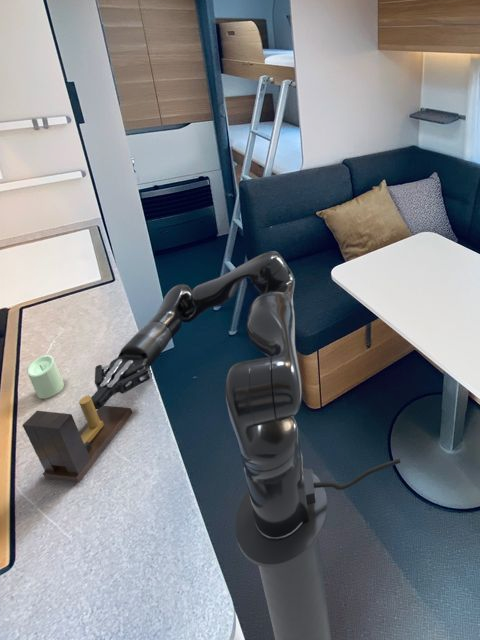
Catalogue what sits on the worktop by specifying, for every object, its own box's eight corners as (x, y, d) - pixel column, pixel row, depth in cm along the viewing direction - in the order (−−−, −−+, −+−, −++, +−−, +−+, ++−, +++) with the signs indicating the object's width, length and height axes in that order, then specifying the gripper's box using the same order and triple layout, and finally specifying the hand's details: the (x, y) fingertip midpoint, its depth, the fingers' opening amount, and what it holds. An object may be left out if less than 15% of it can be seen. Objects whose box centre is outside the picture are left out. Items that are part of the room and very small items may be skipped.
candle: (57, 396, 94) (46, 369, 91) (33, 401, 93) (20, 373, 90) (68, 380, 98) (57, 353, 95) (44, 383, 97) (33, 357, 94)
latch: (103, 410, 90) (85, 363, 85) (132, 412, 89) (116, 365, 84) (45, 478, 76) (19, 427, 71) (78, 482, 76) (55, 431, 70)
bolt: (95, 423, 85) (84, 395, 82) (104, 424, 85) (93, 395, 82) (72, 451, 79) (59, 421, 76) (81, 452, 79) (69, 422, 76)
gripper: (175, 359, 99) (127, 422, 83) (125, 355, 101) (69, 416, 85) (169, 334, 96) (118, 395, 81) (117, 331, 98) (57, 389, 82)
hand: (93, 406), depth 83 cm, fingers closed
